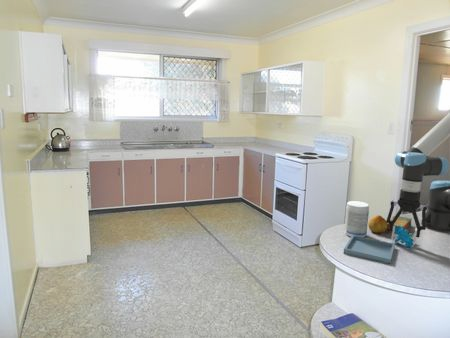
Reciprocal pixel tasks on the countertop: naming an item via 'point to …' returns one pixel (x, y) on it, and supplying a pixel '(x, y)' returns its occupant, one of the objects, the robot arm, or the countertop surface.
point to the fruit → (377, 224)
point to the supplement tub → (356, 218)
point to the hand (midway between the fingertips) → (403, 241)
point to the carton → (400, 223)
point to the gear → (404, 236)
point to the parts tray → (370, 249)
